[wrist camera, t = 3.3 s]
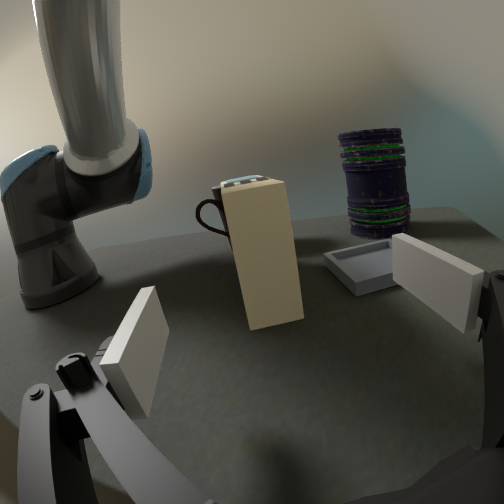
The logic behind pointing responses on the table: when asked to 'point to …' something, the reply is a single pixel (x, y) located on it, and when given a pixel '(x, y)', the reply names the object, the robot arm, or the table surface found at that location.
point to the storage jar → (376, 182)
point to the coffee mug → (219, 203)
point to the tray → (363, 266)
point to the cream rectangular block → (264, 251)
